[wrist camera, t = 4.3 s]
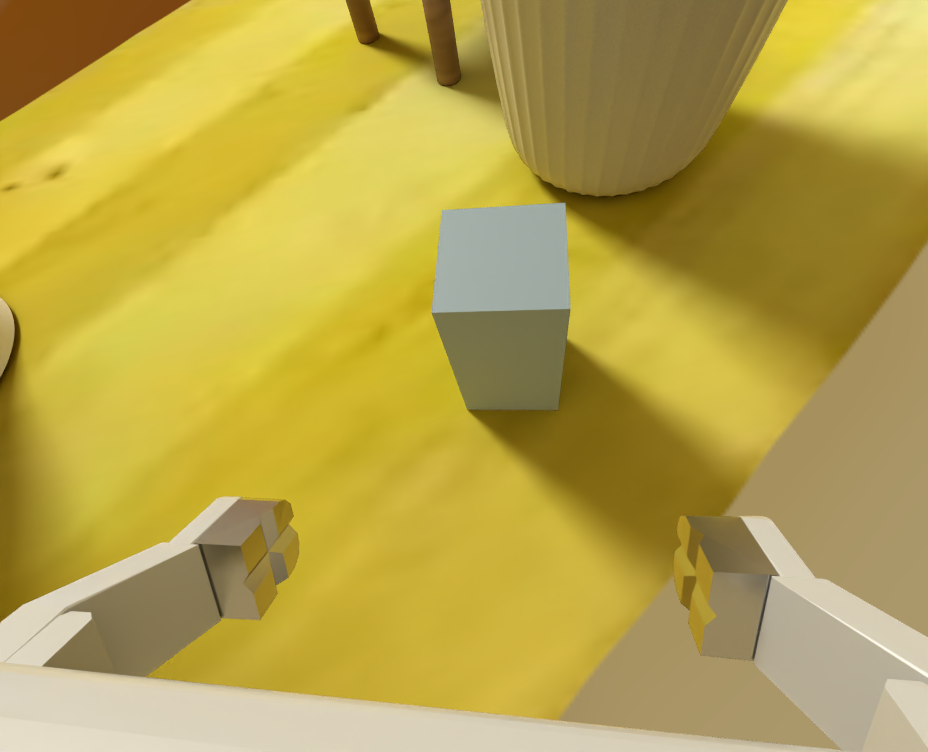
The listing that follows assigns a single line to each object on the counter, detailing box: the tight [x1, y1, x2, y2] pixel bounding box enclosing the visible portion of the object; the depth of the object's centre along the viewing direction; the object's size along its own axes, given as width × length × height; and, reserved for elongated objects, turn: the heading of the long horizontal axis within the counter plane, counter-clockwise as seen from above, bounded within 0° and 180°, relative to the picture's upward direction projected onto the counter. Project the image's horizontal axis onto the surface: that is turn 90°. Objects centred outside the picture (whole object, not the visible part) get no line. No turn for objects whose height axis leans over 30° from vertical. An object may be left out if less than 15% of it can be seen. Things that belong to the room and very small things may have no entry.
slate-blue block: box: [432, 203, 570, 410], centre depth 22 cm, size 5×5×10 cm
